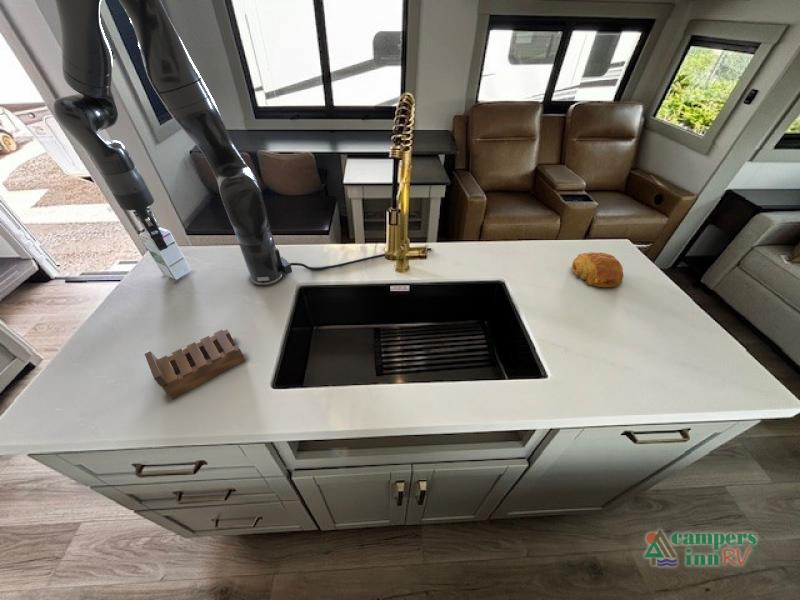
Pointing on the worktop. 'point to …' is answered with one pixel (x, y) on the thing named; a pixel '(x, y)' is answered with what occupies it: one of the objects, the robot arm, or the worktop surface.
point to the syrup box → (167, 255)
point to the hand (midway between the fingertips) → (160, 242)
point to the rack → (192, 355)
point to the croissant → (598, 269)
